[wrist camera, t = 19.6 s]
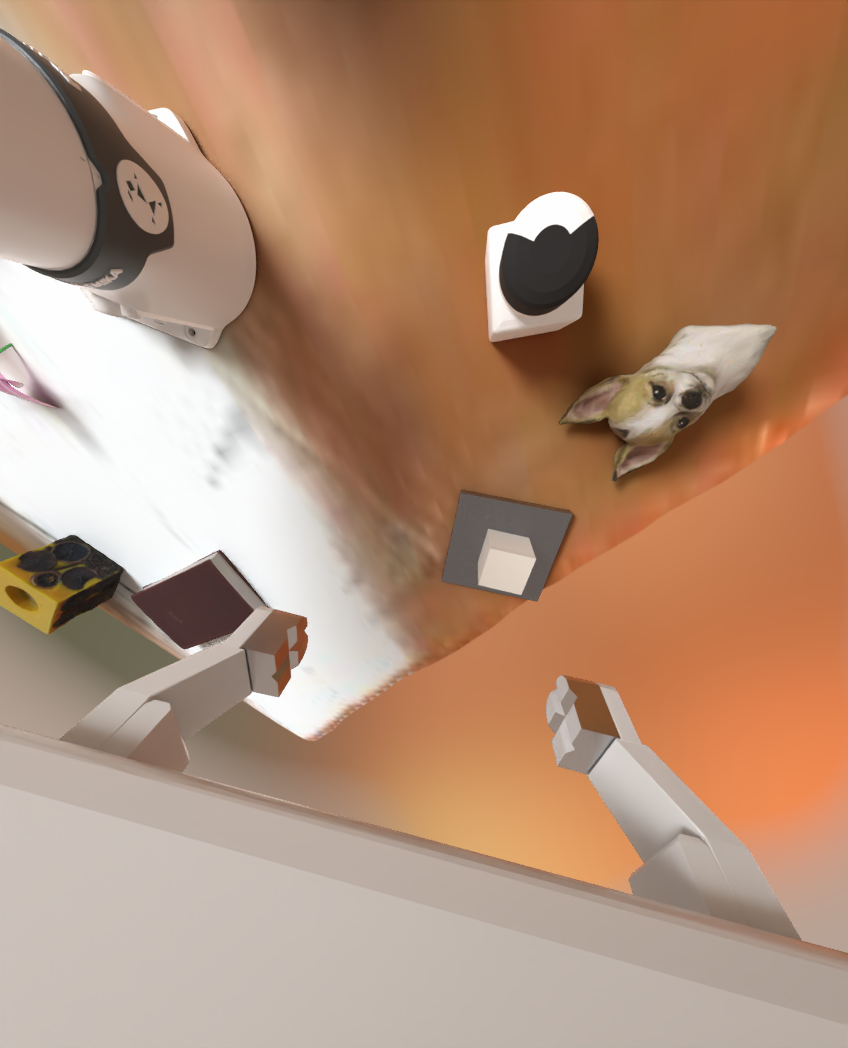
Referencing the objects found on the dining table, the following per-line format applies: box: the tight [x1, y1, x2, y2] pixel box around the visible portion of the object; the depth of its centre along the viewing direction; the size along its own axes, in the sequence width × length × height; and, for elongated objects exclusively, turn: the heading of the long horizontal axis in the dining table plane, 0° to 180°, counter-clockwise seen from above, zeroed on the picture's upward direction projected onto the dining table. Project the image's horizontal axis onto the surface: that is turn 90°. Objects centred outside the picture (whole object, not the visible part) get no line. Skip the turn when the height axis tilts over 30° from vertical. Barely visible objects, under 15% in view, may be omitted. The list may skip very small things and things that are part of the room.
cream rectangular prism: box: [478, 529, 536, 595], centre depth 39 cm, size 5×5×5 cm
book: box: [131, 550, 269, 649], centre depth 55 cm, size 14×22×4 cm, turn 117°
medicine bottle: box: [485, 192, 598, 342], centre depth 25 cm, size 7×7×12 cm
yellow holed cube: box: [0, 535, 123, 634], centre depth 52 cm, size 10×10×10 cm
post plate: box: [442, 490, 573, 601], centre depth 40 cm, size 14×14×5 cm
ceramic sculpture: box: [559, 324, 777, 482], centre depth 29 cm, size 11×9×15 cm
